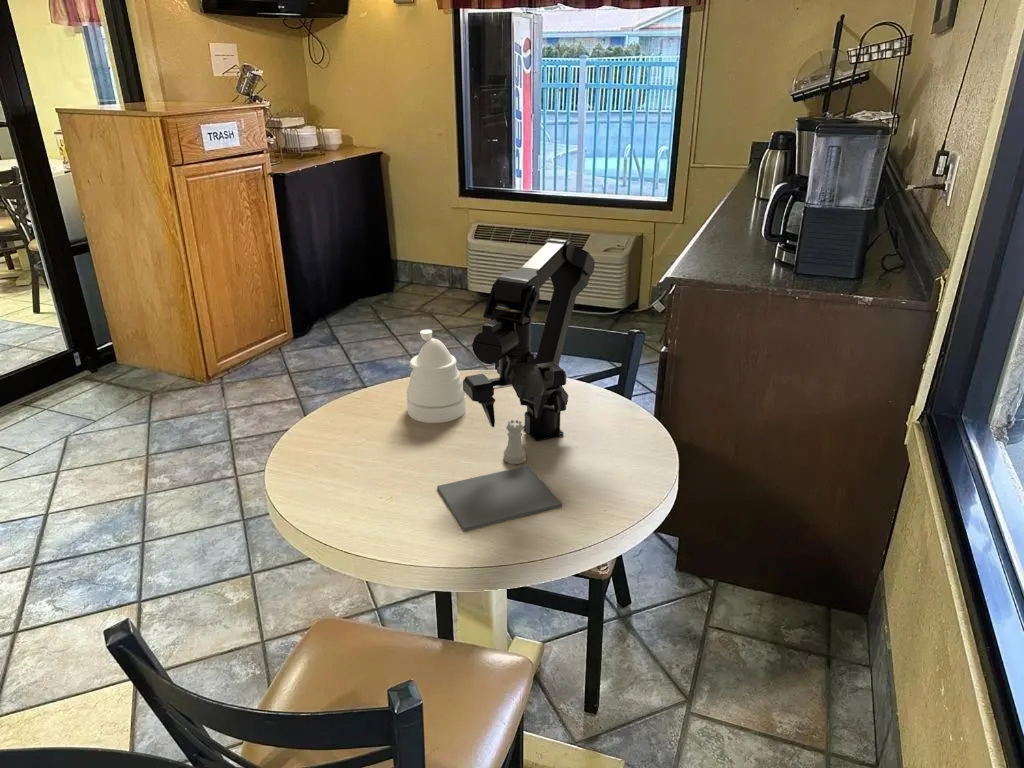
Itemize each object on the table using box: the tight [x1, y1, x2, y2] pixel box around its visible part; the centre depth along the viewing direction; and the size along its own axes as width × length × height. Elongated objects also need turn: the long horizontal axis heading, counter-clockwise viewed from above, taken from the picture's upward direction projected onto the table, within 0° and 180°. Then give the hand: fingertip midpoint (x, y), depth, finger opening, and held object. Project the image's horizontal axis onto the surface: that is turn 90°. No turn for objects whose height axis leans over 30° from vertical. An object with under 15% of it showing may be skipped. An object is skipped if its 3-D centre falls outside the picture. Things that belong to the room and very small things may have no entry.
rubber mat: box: [437, 465, 563, 532], centre depth 126 cm, size 18×14×1 cm
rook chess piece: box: [503, 419, 527, 466], centre depth 137 cm, size 4×4×8 cm
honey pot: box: [406, 329, 467, 424], centre depth 155 cm, size 13×13×18 cm
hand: (515, 421), depth 135 cm, fingers open, 9 cm apart
